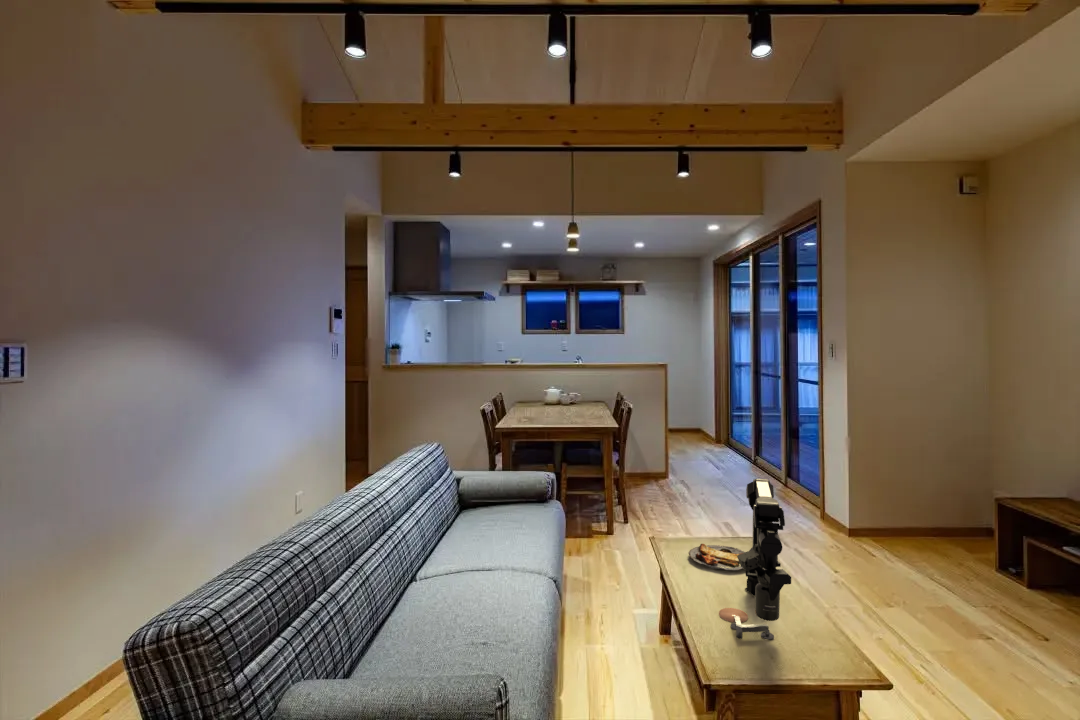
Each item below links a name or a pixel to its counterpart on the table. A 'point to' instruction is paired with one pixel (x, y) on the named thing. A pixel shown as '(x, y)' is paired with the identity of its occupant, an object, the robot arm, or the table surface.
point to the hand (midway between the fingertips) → (767, 594)
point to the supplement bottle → (765, 602)
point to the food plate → (716, 556)
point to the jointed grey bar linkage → (751, 629)
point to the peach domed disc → (733, 614)
